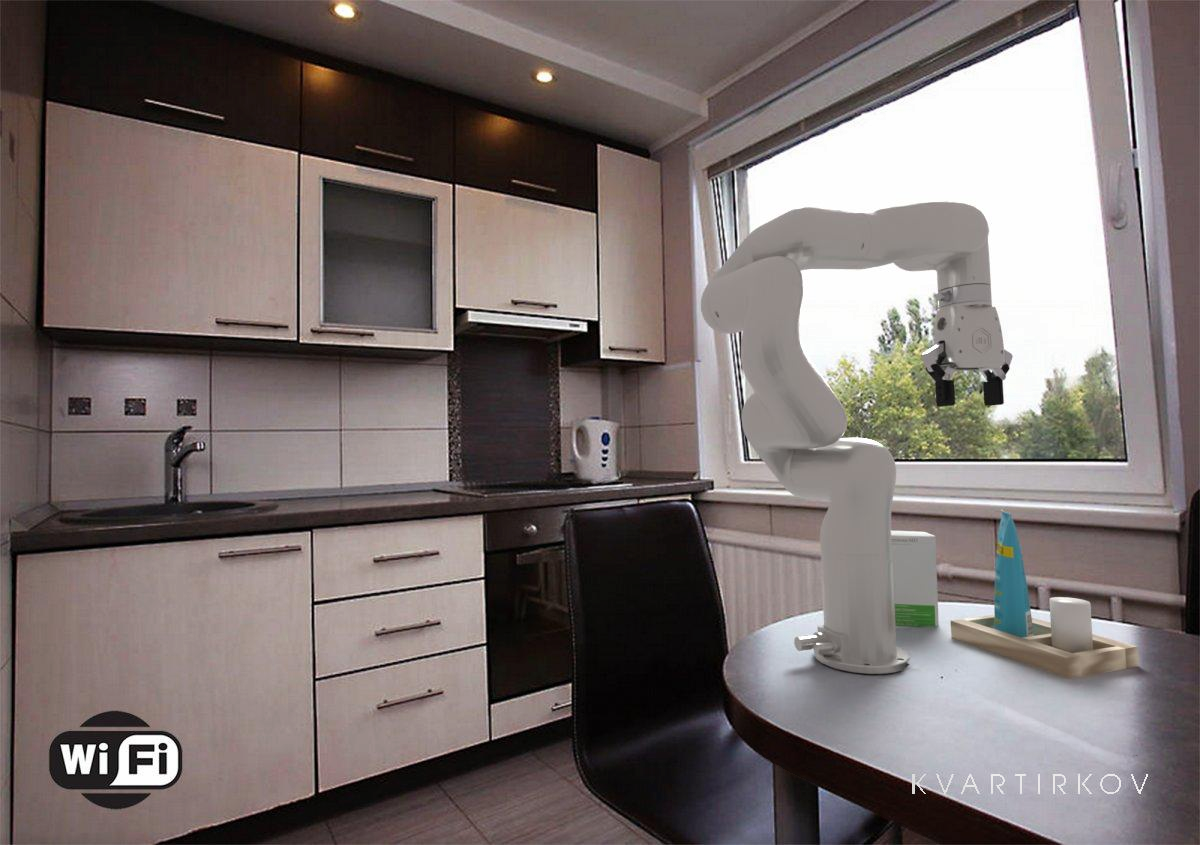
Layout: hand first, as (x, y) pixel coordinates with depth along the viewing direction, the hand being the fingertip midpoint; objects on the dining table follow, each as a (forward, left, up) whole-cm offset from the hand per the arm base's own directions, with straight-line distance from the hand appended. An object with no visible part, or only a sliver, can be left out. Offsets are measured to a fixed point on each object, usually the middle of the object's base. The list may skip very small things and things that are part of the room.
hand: (970, 405), depth 102 cm
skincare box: (-8, +7, -36) cm, 38 cm away
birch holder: (-3, -12, -36) cm, 38 cm away
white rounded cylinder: (-3, -17, -35) cm, 39 cm away
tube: (-3, -9, -36) cm, 37 cm away
